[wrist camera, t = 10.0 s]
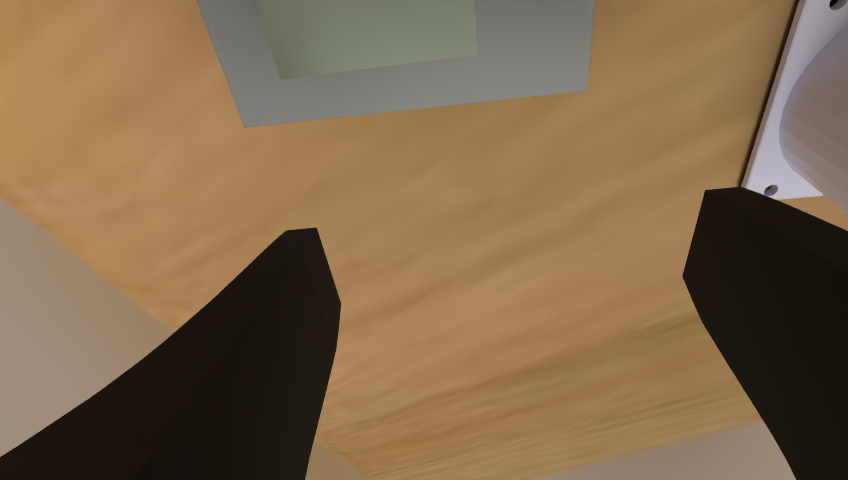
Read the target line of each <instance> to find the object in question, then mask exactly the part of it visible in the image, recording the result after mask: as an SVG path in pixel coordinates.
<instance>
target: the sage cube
mask: <svg viewBox="0 0 848 480" xmlns="http://www.w3.org/2000/svg"><path fill="white" fill-rule="evenodd" d="M256 2H257V5H258V8H259V12H260V15H261V18H262V21H263V24H264V28H265V31H266V34H267V37H268V40H269V44H270V47H271V50H272V53H273V57H274V60H275V63H276V66H277V69H278V73H279V76H280V79H288V78H296V77H304V76H312V75H320V74H328V73H336V72H344V71H352V70H360V69H367V68H375V67H383V66H391V65H399V64H407V63H415V62H423V61H431V60H439V59H447V58H455V57H463V56H471V55H478V48H477V32H476V16H475V0H256Z"/></svg>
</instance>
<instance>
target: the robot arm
mask: <svg viewBox="0 0 848 480" xmlns="http://www.w3.org/2000/svg"><path fill="white" fill-rule="evenodd" d="M830 1H831V0H800V1H799V3H798V6H797V10H796V13H795V16H794V19H793V22H792V26H791V29H790V32H789V35H788V38H787V42H786V45H785V48H784V51H783V54H782V58H781V61H780V64H779V67H778V70H777V74H776V77H775V80H774V83H773V86H772V89H771V93H770V96H769V99H768V102H767V105H766V109H765V112H764V115H763V118H762V121H761V125H760V128H759V131H758V134H757V137H756V141H755V144H754V147H753V150H752V153H751V157H750V160H749V163H748V166H747V169H746V173H745V176H744V179H743V182H742V185H741V187H733V188H723V189H713V190H705V193H704V197H703V201H702V204H701V208H700V212H699V216H698V219H697V223H696V227H695V231H694V235H693V238H692V242H691V246H690V250H689V254H688V257H687V261H686V265H685V269H684V272H683V279H684V281H685V284H686V286H687V288H688V291H689V293H690V296H691V298H692V301H693V303H694V305H695V307H696V309H697V312H698V314H699V316H700V318H701V320H702V323H703V324H704V326H705V328H706V329H707V331H708V333H709V334H710V336H711V338H712V339H713V341H714V342H715V344H716V346H717V347H718V349H719V351H720V352H721V354H722V355H723V357H724V359H725V360H726V362H727V364H728V365H729V367H730V368H731V370H732V371H733V373H734V375H735V376H736V378H737V379H738V381H739V383H740V384H741V386H742V387H743V389H744V391H745V392H746V394H747V395H748V397H749V398H750V400H751V402H752V403H753V405H754V406H755V408H756V410H757V411H758V413H759V414H760V416H761V418H762V419H763V421H764V422H765V424H766V425H767V427H768V429H769V430H770V432H771V434H772V435H773V437H774V439H775V441H776V442H777V444H778V446H779V448H780V449H781V451H782V453H783V455H784V456H785V458H786V460H787V462H788V464H789V466H790V468H791V470H792V472H793V474H794V476H795V478H796V480H848V231H846V230H844V229H842V228H839V227H837V226H835V225H833V224H830V223H828V222H826V221H824V220H821V219H819V218H817V217H814V216H812V215H810V214H808V213H805V212H803V211H801V210H799V209H796V208H794V207H792V206H789V205H787V204H785V203H782V202H780V201H778V199H790V198H802V197H815V196H826V197H827V198H828V199H829V200H831V201H832V202H833V203H834V204H836V205H837V206H838V207H839V208H841V209H842V210H843V211H844V212H846V213H847V214H848V0H838V1H837V3H836V4H834V5H833V6H832V7H829V5H830ZM771 185H772V187H771V188H770V189H769V190H767V191H764V190H765V189H766V188H767V187H768V186H771ZM340 310H341V302H340V299H339V296H338V293H337V290H336V286H335V283H334V280H333V277H332V274H331V271H330V268H329V265H328V262H327V258H326V255H325V252H324V249H323V246H322V243H321V240H320V237H319V234H318V230H317V228H308V229H297V230H287V231H285V232H284V233H283V234H282V235H280V236H279V237H278V238H277V239H276V240H275V241H274V242H273V243H271V244H270V245H269V246H268V247H267V248H266V249H265V250H264V251H263V252H262V253H261V254H260V255H259V256H258V257H257V258H256V259H255V260H254V261H253V262H252V263H250V264H249V265H248V266H247V267H246V268H245V269H244V270H243V271H242V272H241V273H240V274H239V275H238V276H237V277H236V278H235V279H234V280H233V281H232V282H230V283H229V284H228V285H227V286H226V287H225V288H224V289H223V290H222V291H221V292H220V293H219V294H218V295H217V296H216V297H215V298H213V299H212V300H211V301H210V302H209V303H208V304H207V305H206V306H204V307H203V308H202V309H201V310H200V311H199V312H198V313H196V314H195V315H194V316H193V317H192V318H191V319H190V320H188V321H187V322H186V323H185V324H184V325H183V326H181V327H180V328H179V329H178V330H177V331H176V332H175V333H173V334H172V335H171V336H170V337H169V338H168V339H167V340H166V341H164V342H163V343H162V344H161V345H159V346H158V347H157V348H156V349H154V350H153V351H152V352H151V353H149V354H148V355H147V356H146V357H144V358H143V359H142V360H141V361H139V362H138V363H137V364H135V365H134V366H133V367H132V368H130V369H129V370H127V371H126V372H125V373H123V374H122V375H121V376H119V377H118V378H117V379H115V380H114V381H113V382H111V383H110V384H109V385H107V386H106V387H105V388H103V389H102V390H101V391H99V392H98V393H96V394H95V395H93V396H92V397H91V398H89V399H88V400H86V401H85V402H83V403H82V404H80V405H79V406H77V407H76V408H74V409H73V410H71V411H70V412H68V413H67V414H65V415H64V416H62V417H61V418H59V419H58V420H56V421H55V422H53V423H52V424H50V425H49V426H47V427H46V428H44V429H43V430H42V431H40V432H38V433H37V434H35V435H34V436H33V437H31V438H29V439H28V440H26V441H25V442H23V443H22V444H20V445H19V446H17V447H16V448H14V449H12V450H11V451H9V452H8V453H6V454H4V455H3V456H1V457H0V480H305V477H306V472H307V467H308V463H309V457H310V453H311V449H312V445H313V441H314V437H315V433H316V429H317V425H318V421H319V417H320V413H321V409H322V405H323V402H324V398H325V394H326V390H327V386H328V381H329V377H330V373H331V369H332V365H333V361H334V356H335V352H336V347H337V339H338V330H339V321H340Z"/></svg>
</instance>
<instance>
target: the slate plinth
mask: <svg viewBox="0 0 848 480" xmlns="http://www.w3.org/2000/svg"><path fill="white" fill-rule="evenodd" d="M197 2H198V5H199V7H200V10H201V13H202V15H203V18H204V21H205V23H206V26H207V29H208V32H209V34H210V37H211V40H212V42H213V45H214V48H215V50H216V53H217V56H218V58H219V61H220V64H221V66H222V69H223V72H224V74H225V77H226V80H227V82H228V85H229V88H230V90H231V93H232V96H233V98H234V101H235V104H236V107H237V109H238V112H239V115H240V117H241V120H242V123H243V125H244V128H247V127H257V126H266V125H275V124H284V123H293V122H303V121H312V120H321V119H330V118H339V117H349V116H358V115H367V114H376V113H385V112H395V111H404V110H413V109H422V108H431V107H441V106H450V105H459V104H468V103H477V102H487V101H496V100H505V99H514V98H523V97H533V96H542V95H551V94H560V93H569V92H579V91H588V79H589V66H590V54H591V41H592V29H593V16H594V4H595V0H475V16H476V32H477V48H478V55H471V56H463V57H455V58H447V59H439V60H431V61H423V62H415V63H407V64H399V65H391V66H383V67H375V68H367V69H360V70H352V71H344V72H336V73H328V74H320V75H312V76H304V77H296V78H288V79H280V76H279V73H278V69H277V66H276V63H275V60H274V57H273V53H272V50H271V47H270V44H269V40H268V37H267V34H266V31H265V28H264V24H263V21H262V18H261V15H260V12H259V8H258V5H257V2H256V0H197Z"/></svg>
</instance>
